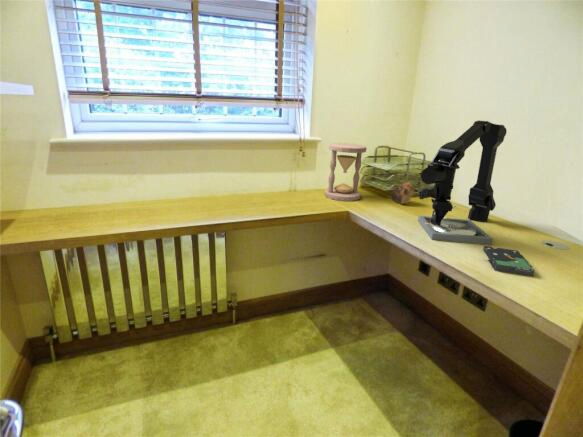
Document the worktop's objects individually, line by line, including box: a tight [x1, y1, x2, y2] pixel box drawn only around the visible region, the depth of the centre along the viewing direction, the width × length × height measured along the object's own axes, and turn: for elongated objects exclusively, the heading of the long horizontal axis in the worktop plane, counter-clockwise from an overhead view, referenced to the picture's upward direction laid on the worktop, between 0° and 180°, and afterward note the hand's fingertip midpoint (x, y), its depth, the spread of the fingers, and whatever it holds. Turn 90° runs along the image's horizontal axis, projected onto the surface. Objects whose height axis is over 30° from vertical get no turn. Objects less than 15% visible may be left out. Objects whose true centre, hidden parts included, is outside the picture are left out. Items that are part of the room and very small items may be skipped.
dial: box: [429, 209, 477, 236], centre depth 128 cm, size 16×16×7 cm
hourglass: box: [324, 142, 367, 202], centre depth 168 cm, size 18×18×25 cm
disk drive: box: [482, 245, 535, 278], centre depth 107 cm, size 10×3×15 cm
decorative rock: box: [391, 180, 415, 205], centre depth 165 cm, size 12×6×11 cm, turn 16°
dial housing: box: [417, 215, 493, 246], centre depth 129 cm, size 20×20×3 cm
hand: (436, 221), depth 131 cm, fingers open, 4 cm apart
